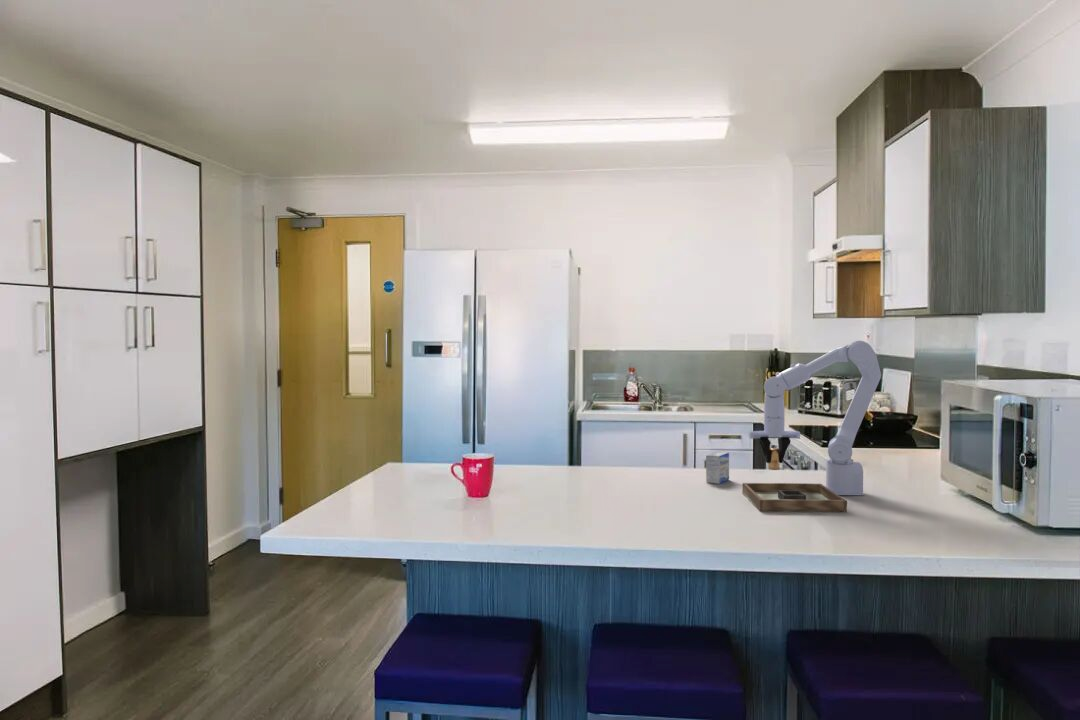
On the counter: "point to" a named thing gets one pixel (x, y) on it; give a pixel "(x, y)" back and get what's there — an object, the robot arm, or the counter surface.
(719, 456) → the medicine box
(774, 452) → the bronze metal cylinder
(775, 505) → the walled box
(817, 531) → the counter surface
